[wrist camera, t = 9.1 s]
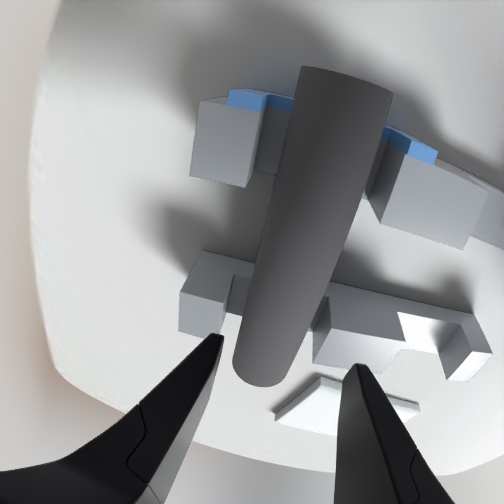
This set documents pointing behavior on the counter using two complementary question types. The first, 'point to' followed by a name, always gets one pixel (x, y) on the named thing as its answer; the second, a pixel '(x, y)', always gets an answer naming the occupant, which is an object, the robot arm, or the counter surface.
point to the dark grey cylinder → (308, 216)
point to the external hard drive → (328, 408)
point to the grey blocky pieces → (388, 213)
